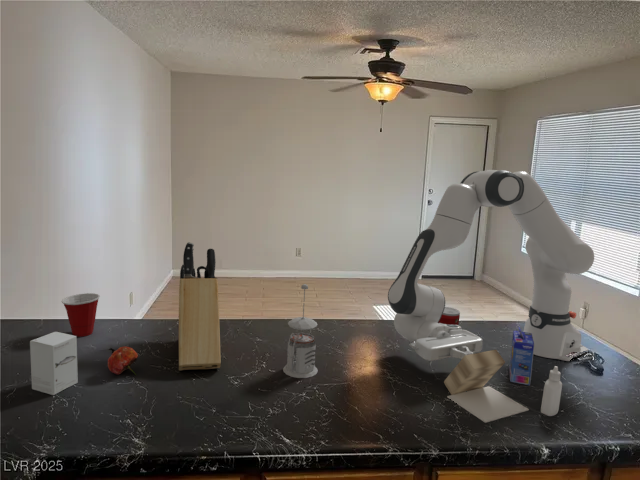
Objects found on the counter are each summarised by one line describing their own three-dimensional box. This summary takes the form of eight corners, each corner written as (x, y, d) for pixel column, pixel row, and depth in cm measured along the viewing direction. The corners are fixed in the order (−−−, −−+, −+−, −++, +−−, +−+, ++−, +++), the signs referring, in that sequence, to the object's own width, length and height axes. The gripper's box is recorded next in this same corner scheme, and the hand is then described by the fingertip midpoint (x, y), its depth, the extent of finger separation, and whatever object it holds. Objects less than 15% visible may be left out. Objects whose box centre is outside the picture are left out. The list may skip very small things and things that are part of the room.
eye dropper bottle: (533, 407, 122) (540, 363, 120) (553, 406, 123) (559, 362, 121) (545, 417, 118) (552, 371, 116) (565, 415, 119) (572, 370, 117)
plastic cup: (70, 327, 158) (69, 291, 156) (105, 327, 159) (104, 292, 157) (56, 339, 147) (55, 301, 145) (93, 340, 148) (92, 302, 146)
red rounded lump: (141, 375, 132) (118, 349, 134) (151, 360, 129) (128, 333, 130) (119, 389, 126) (95, 361, 128) (129, 374, 122) (105, 345, 124)
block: (473, 374, 134) (495, 349, 127) (482, 387, 132) (505, 362, 124) (443, 381, 129) (464, 355, 122) (451, 395, 126) (473, 368, 119)
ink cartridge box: (507, 368, 145) (513, 322, 143) (527, 371, 143) (534, 325, 141) (509, 382, 136) (515, 333, 133) (530, 386, 134) (537, 336, 132)
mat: (488, 387, 132) (489, 386, 132) (528, 410, 121) (528, 409, 121) (447, 397, 125) (447, 396, 125) (485, 422, 114) (485, 421, 114)
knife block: (213, 327, 164) (214, 238, 159) (221, 373, 131) (223, 262, 126) (178, 329, 161) (178, 238, 156) (178, 376, 128) (178, 263, 123)
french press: (323, 367, 138) (328, 283, 134) (305, 383, 128) (310, 293, 124) (293, 359, 142) (297, 277, 138) (273, 375, 132) (276, 286, 128)
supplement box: (53, 396, 115) (51, 346, 113) (31, 389, 117) (28, 340, 115) (79, 383, 122) (77, 335, 119) (56, 377, 124) (54, 330, 122)
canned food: (457, 347, 159) (461, 315, 157) (432, 343, 161) (435, 312, 159) (455, 338, 167) (459, 308, 165) (432, 335, 168) (435, 305, 166)
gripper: (407, 332, 134) (440, 351, 122) (462, 324, 144) (498, 340, 132) (405, 353, 135) (438, 374, 123) (459, 344, 145) (495, 362, 133)
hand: (469, 357), depth 128 cm, fingers closed
